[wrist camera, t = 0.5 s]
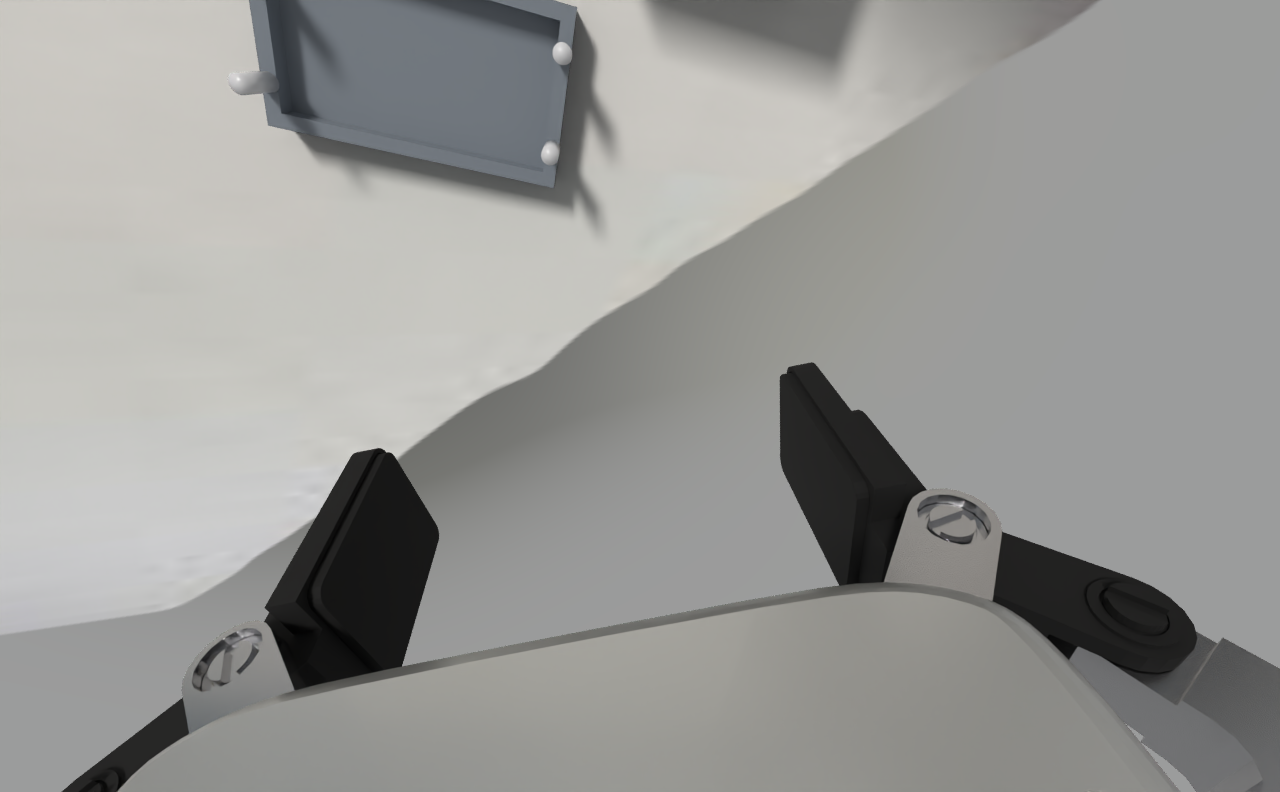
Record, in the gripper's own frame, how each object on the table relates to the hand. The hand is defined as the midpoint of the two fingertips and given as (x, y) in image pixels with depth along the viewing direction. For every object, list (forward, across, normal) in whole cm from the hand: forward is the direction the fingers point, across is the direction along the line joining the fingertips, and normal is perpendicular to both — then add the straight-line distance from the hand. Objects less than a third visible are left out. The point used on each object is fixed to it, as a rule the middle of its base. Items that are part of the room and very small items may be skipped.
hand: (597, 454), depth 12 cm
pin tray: (+28, +8, -9) cm, 30 cm away
